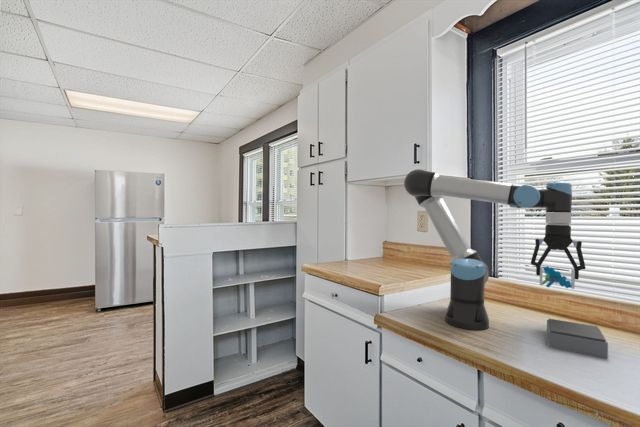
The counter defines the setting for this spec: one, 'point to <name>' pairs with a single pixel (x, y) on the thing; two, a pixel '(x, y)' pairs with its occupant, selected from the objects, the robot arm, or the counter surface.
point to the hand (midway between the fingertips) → (556, 286)
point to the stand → (576, 338)
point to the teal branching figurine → (555, 278)
